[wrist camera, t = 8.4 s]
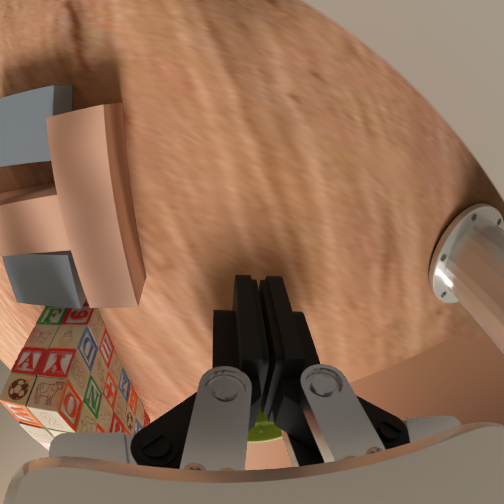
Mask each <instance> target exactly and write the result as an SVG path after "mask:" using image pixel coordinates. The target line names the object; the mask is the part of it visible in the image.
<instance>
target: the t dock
mask: <svg viewBox="0 0 504 504" xmlns="http://www.w3.org/2000/svg"><path fill="white" fill-rule="evenodd" d="M72 97H73V85H52V86H47V87H43V88H38V89H33V90H29V91H25V92H21V93H17V94H13V95H10V96H6V97H3V98H0V167H3V166H10V165H18V164H25V163H34V162H43V161H51V156H50V149H49V141H48V132H47V122H46V118H48V117H52V116H56V115H59V114H63V113H67V112H71V111H72ZM2 258H3V261H4V265H5V268H6V271H7V274H8V277H9V280H10V283H11V286H12V289H13V292H14V294H15V297H16V300H17V302H18V303H27V304H35V305H44V306H54V307H64V308H75V309H81V308H82V306H83V304H84V302H85V300H86V295H85V293H84V290H83V287H82V284H81V281H80V278H79V275H78V272H77V269H76V266H75V262H74V259H73V256H72V252H71V250H68V251H56V252H44V253H32V254H21V255H9V256H2Z"/></svg>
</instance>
